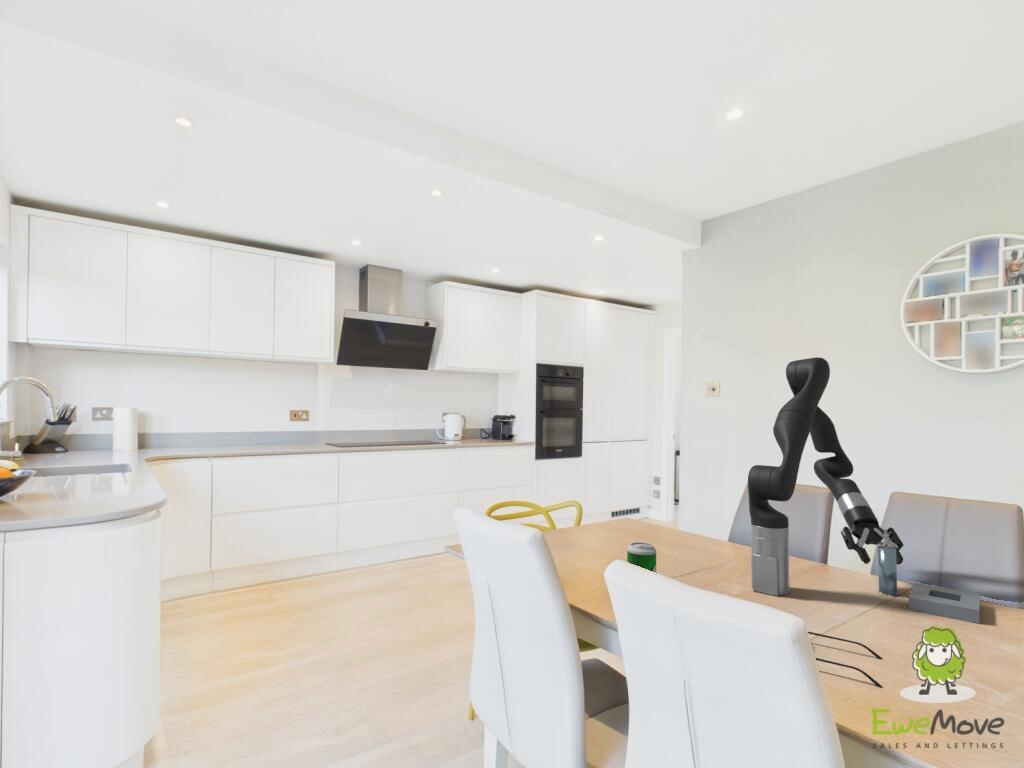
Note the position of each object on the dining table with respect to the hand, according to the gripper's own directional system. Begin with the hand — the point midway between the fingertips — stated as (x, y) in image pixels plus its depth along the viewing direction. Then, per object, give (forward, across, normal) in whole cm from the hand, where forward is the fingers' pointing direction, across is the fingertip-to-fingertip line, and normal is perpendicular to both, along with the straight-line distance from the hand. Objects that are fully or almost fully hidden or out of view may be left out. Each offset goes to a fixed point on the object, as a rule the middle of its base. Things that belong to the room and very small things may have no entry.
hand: (884, 562), depth 145 cm
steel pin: (+6, 0, +4) cm, 8 cm away
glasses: (+36, -38, -24) cm, 58 cm away
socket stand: (+14, +7, -3) cm, 16 cm away
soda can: (+8, -66, +3) cm, 66 cm away
